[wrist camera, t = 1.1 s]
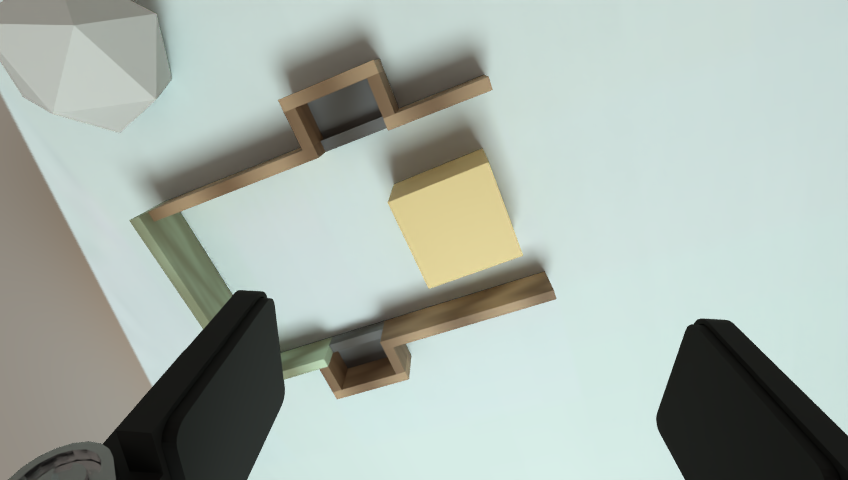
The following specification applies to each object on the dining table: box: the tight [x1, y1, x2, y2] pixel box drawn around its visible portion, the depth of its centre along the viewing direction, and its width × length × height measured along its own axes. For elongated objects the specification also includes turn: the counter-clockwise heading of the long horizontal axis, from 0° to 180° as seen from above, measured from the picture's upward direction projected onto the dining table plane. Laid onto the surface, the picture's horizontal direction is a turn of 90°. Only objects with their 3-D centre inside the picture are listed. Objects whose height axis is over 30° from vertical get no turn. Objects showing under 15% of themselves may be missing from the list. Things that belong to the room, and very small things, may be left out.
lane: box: [129, 59, 556, 399], centre depth 33 cm, size 26×23×4 cm
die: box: [0, 0, 172, 133], centre depth 26 cm, size 8×9×10 cm
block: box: [388, 148, 523, 289], centre depth 31 cm, size 7×7×4 cm
